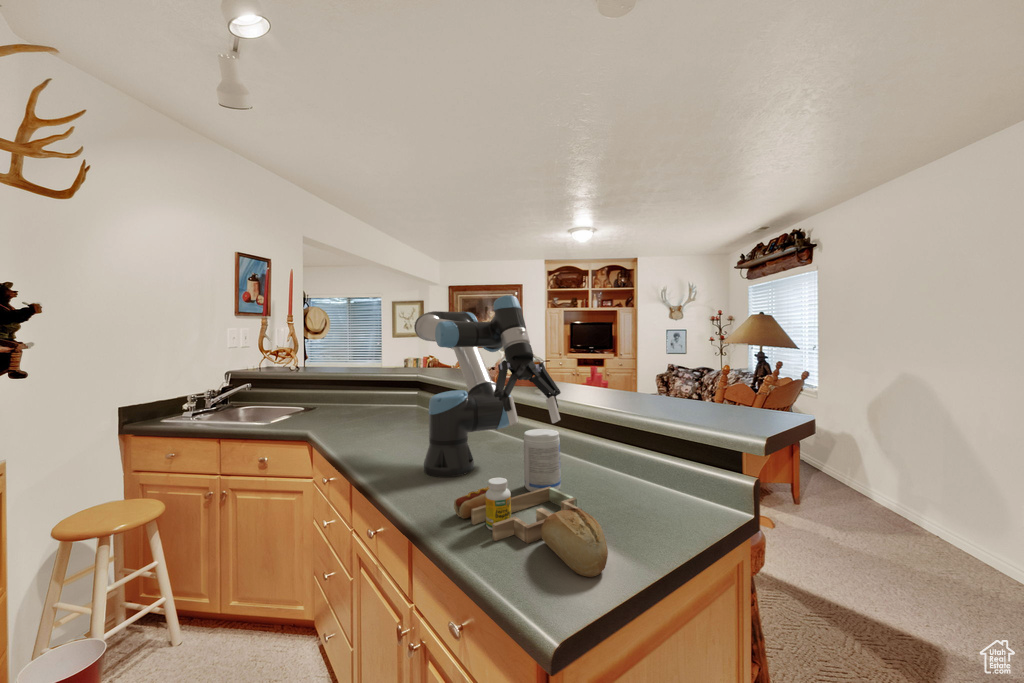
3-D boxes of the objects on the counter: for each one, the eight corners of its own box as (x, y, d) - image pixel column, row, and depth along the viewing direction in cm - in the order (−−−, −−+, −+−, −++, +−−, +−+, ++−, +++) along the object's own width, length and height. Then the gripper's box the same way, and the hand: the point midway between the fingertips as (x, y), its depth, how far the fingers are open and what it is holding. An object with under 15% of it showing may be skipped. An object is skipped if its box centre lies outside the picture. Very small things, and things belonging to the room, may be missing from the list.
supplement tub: (568, 489, 103) (567, 433, 103) (539, 498, 98) (538, 438, 98) (545, 479, 111) (544, 426, 111) (517, 486, 106) (516, 431, 106)
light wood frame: (471, 523, 85) (471, 509, 85) (549, 498, 97) (549, 486, 97) (508, 551, 73) (508, 535, 73) (591, 519, 86) (591, 505, 86)
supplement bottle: (502, 517, 87) (501, 474, 87) (516, 527, 83) (515, 481, 83) (481, 524, 84) (480, 479, 84) (494, 534, 79) (494, 487, 79)
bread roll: (570, 533, 80) (569, 494, 80) (623, 571, 67) (623, 524, 67) (529, 546, 75) (528, 504, 75) (578, 589, 62) (577, 538, 62)
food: (494, 498, 98) (494, 478, 98) (510, 504, 94) (510, 483, 94) (449, 516, 88) (448, 494, 88) (464, 524, 84) (464, 501, 84)
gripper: (485, 337, 98) (503, 419, 89) (559, 344, 113) (581, 415, 104) (470, 350, 103) (486, 429, 94) (543, 356, 118) (563, 425, 109)
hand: (536, 422), depth 99 cm, fingers open, 13 cm apart
